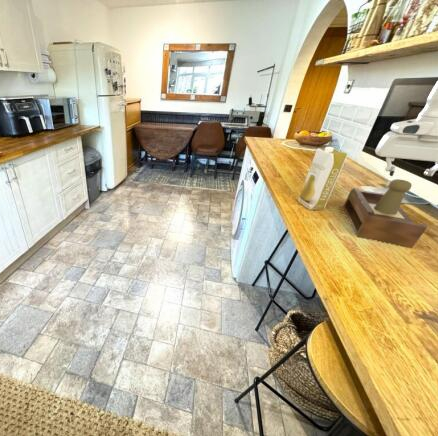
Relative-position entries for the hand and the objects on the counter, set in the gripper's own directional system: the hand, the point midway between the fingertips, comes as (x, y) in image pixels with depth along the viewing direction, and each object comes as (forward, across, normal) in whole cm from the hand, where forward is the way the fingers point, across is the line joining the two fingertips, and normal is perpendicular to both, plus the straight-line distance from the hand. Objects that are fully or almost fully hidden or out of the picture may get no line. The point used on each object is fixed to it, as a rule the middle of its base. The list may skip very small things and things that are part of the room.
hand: (407, 173), depth 76 cm
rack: (+20, +1, 0) cm, 20 cm away
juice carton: (+20, +20, -7) cm, 29 cm away
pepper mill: (+14, 0, 0) cm, 14 cm away
